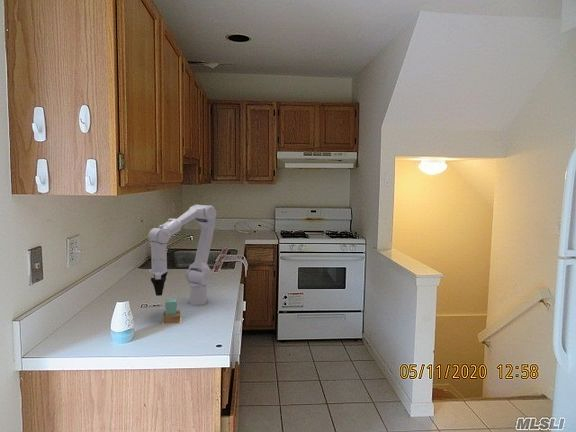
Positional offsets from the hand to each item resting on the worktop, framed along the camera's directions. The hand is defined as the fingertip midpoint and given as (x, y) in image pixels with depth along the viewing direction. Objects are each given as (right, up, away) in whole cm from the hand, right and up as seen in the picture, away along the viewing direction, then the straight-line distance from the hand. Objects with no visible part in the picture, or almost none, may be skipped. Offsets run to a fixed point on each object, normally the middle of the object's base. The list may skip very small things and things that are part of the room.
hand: (159, 292), depth 156 cm
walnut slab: (+6, -10, -3) cm, 12 cm away
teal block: (+6, -7, -4) cm, 10 cm away
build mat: (+3, -10, 0) cm, 11 cm away
